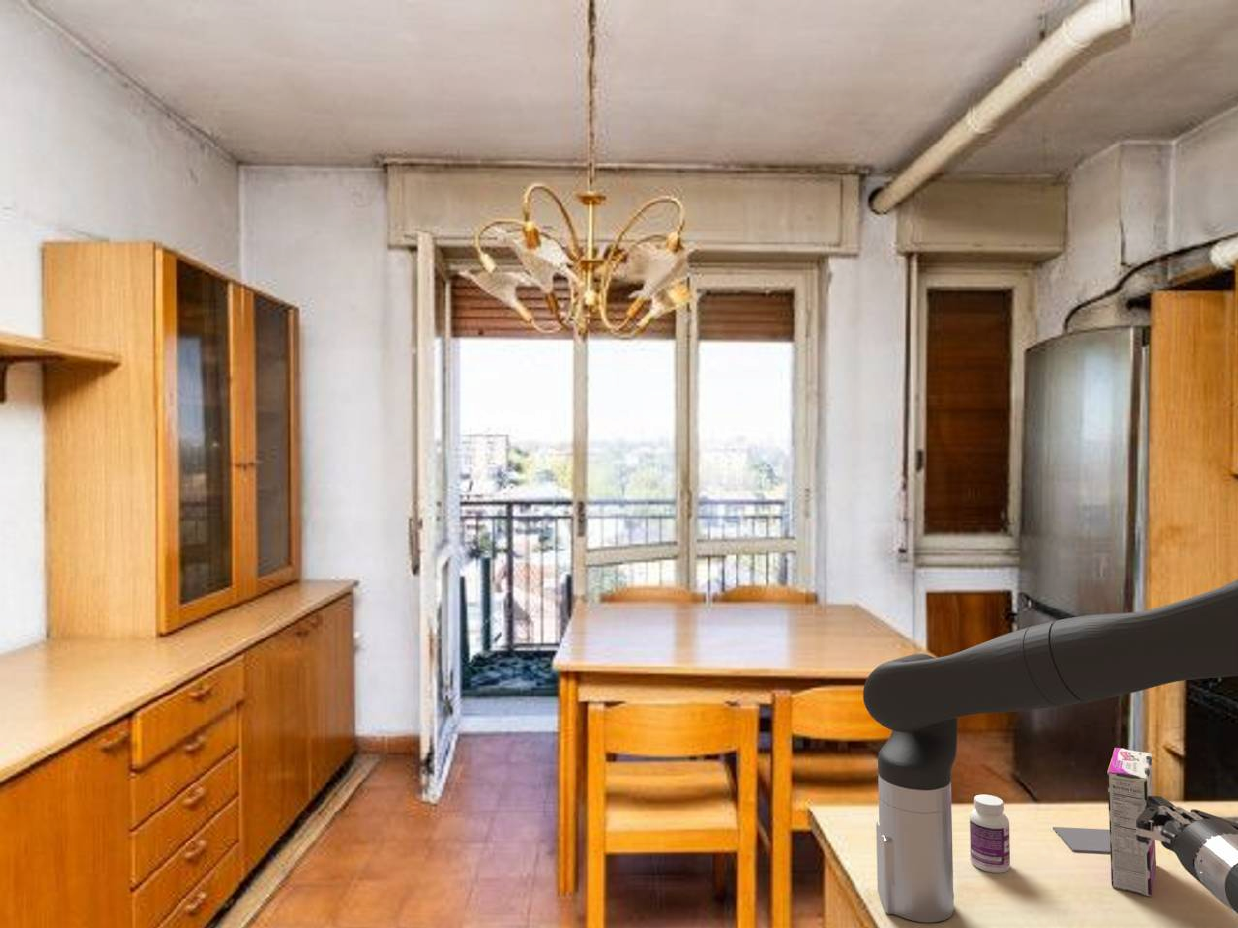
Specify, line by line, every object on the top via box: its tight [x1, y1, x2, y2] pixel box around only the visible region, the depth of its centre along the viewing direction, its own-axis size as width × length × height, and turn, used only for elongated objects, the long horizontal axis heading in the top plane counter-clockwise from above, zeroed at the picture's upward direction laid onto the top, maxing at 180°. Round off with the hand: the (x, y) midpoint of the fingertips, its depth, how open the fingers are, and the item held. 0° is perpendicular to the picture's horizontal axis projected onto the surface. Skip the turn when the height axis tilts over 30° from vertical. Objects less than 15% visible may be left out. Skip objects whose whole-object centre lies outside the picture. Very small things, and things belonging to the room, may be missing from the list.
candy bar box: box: [1106, 747, 1157, 898], centre depth 111 cm, size 11×5×16 cm, turn 143°
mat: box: [1052, 826, 1111, 854], centre depth 121 cm, size 11×8×1 cm
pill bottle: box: [969, 793, 1011, 874], centre depth 115 cm, size 5×5×10 cm
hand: (1153, 802), depth 105 cm, fingers closed
